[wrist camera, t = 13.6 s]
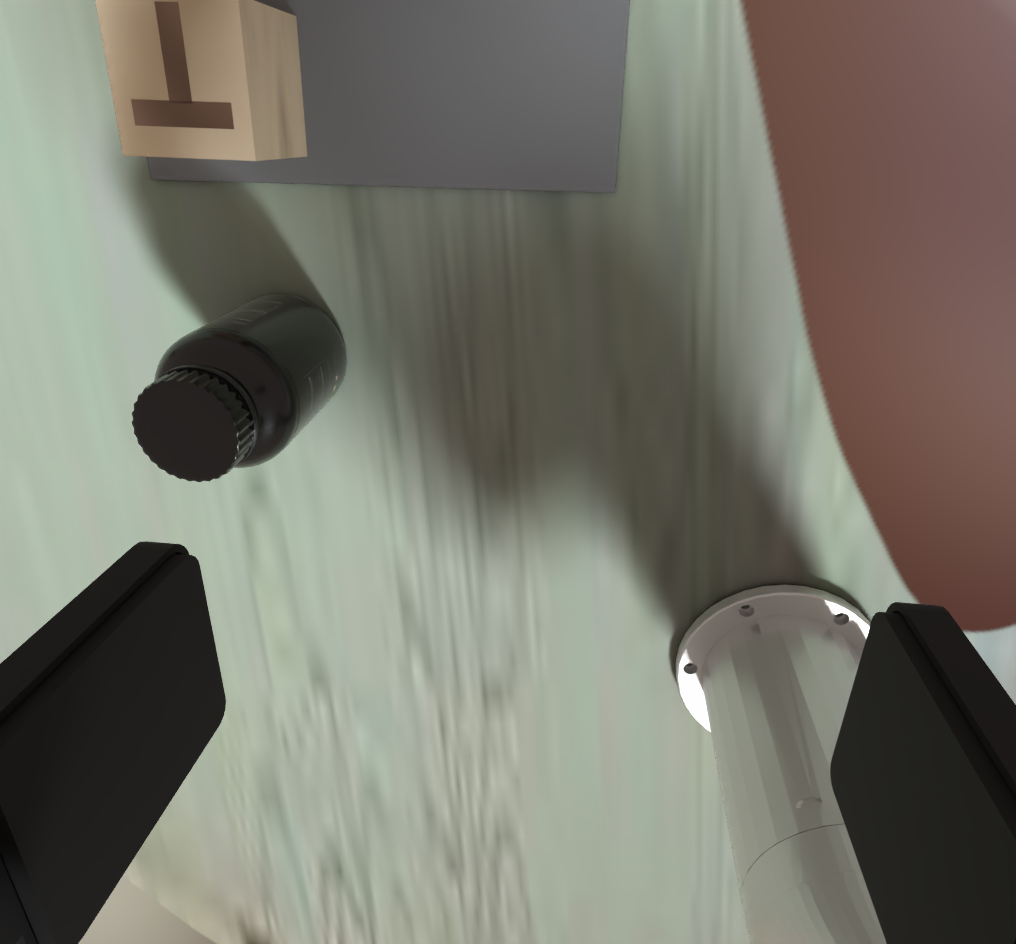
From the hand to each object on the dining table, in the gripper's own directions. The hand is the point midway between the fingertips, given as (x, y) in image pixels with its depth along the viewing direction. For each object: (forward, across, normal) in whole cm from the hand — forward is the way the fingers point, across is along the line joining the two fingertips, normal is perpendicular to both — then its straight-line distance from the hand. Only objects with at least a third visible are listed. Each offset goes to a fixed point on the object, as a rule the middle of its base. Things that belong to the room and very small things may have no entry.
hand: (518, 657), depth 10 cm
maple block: (+24, +17, -8) cm, 31 cm away
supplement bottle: (+31, +16, +5) cm, 35 cm away
